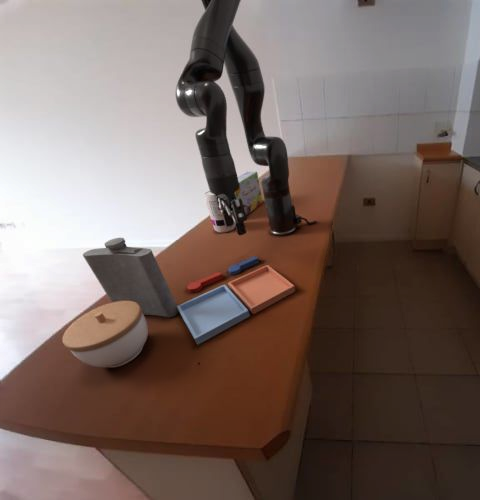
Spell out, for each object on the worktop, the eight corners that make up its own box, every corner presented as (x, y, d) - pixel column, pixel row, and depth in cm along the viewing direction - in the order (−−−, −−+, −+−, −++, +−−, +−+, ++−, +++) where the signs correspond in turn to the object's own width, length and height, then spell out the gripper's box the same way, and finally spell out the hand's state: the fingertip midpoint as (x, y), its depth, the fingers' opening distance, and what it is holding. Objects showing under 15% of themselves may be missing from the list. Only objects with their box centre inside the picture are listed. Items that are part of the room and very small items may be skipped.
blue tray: (226, 289, 75) (224, 284, 74) (249, 316, 66) (248, 310, 65) (179, 311, 69) (176, 306, 68) (197, 345, 59) (194, 338, 58)
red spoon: (219, 274, 82) (218, 270, 81) (224, 279, 79) (222, 275, 79) (187, 288, 77) (185, 284, 76) (190, 294, 74) (189, 289, 74)
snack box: (243, 220, 116) (234, 185, 108) (230, 220, 117) (221, 185, 109) (263, 202, 134) (257, 170, 126) (253, 201, 135) (246, 170, 127)
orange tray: (268, 270, 82) (267, 264, 81) (295, 291, 73) (294, 285, 72) (229, 288, 76) (227, 282, 75) (253, 314, 66) (251, 308, 65)
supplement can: (210, 232, 108) (198, 195, 100) (224, 223, 114) (214, 188, 107) (226, 234, 105) (215, 196, 98) (240, 225, 112) (231, 189, 104)
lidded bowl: (103, 391, 51) (71, 350, 45) (76, 362, 57) (45, 324, 52) (169, 343, 60) (148, 304, 54) (139, 323, 66) (118, 286, 61)
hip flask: (116, 315, 69) (72, 245, 59) (128, 304, 73) (89, 237, 63) (174, 317, 67) (139, 245, 57) (183, 306, 70) (152, 236, 60)
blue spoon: (255, 259, 88) (254, 255, 87) (260, 263, 86) (259, 259, 85) (226, 271, 83) (225, 267, 82) (231, 276, 81) (230, 271, 80)
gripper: (246, 173, 68) (259, 233, 76) (224, 165, 78) (238, 218, 86) (216, 180, 64) (233, 242, 72) (197, 171, 74) (214, 226, 82)
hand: (235, 229), depth 79 cm, fingers open, 8 cm apart
